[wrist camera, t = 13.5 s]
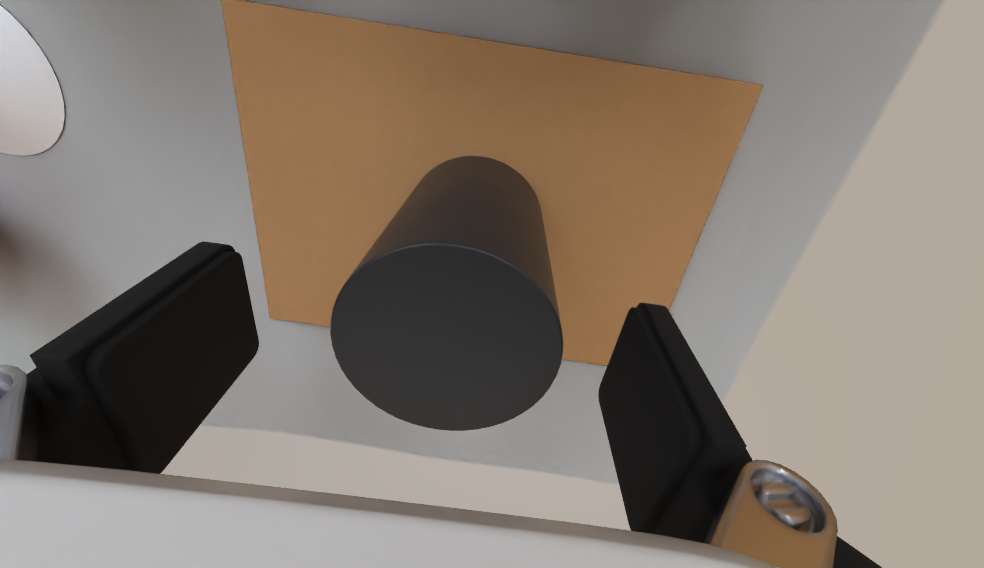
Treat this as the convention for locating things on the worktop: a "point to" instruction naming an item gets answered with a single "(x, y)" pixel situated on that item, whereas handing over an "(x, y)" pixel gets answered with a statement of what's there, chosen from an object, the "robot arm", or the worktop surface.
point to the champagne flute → (26, 93)
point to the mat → (474, 132)
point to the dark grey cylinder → (454, 303)
